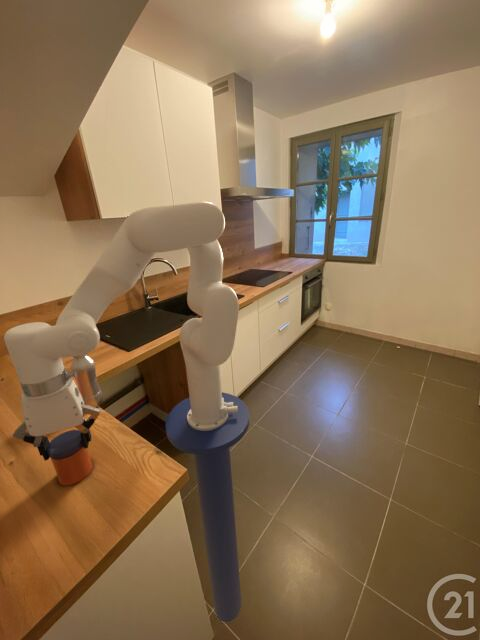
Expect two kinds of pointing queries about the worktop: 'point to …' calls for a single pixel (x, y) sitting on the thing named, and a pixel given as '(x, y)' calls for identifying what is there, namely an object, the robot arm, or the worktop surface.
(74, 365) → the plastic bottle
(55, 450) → the lid
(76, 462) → the jar
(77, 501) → the worktop surface
